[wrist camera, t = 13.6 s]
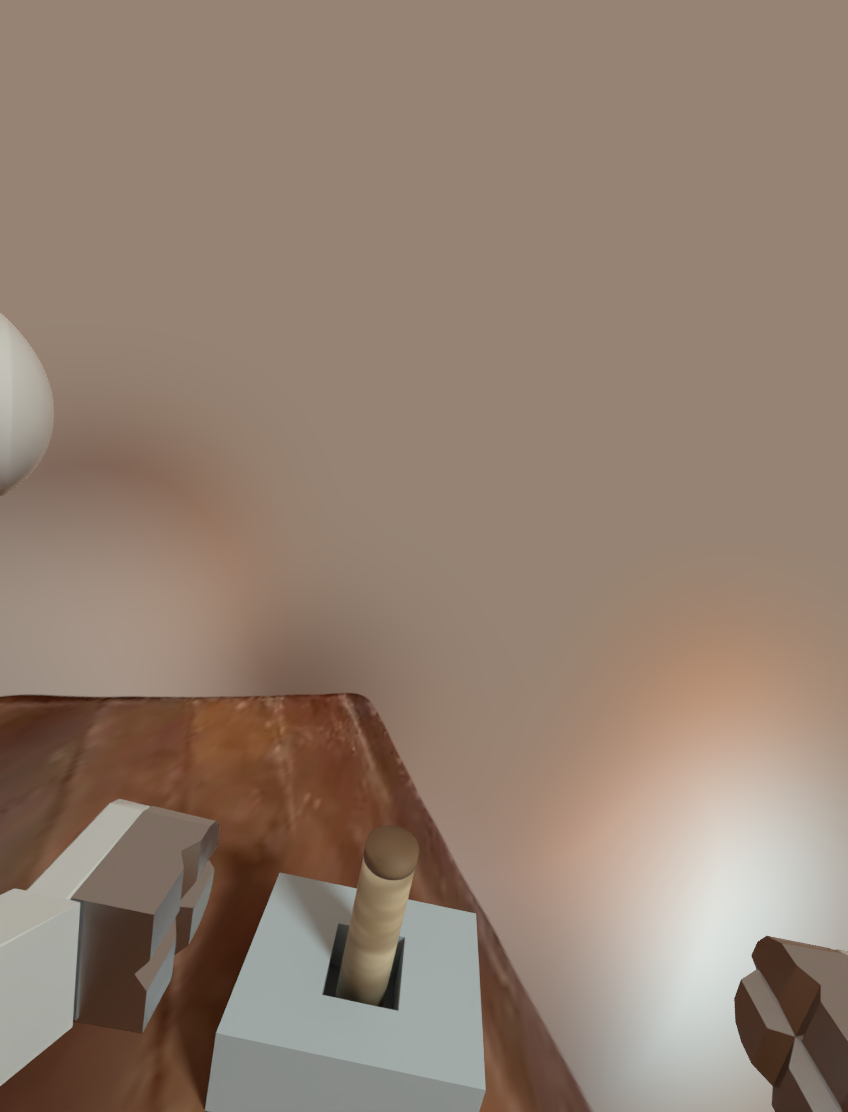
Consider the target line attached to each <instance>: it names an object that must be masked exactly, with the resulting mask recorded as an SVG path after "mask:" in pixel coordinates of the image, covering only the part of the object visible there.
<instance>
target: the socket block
mask: <svg viewBox="0 0 848 1112" xmlns="http://www.w3.org/2000/svg"><path fill="white" fill-rule="evenodd" d="M356 891H357V889H356V888H351V887H346V886H341V885H337V884H332V883H327V882H322V881H318V880H313V879H308V878H303V877H299V876H294V875H289V874H284V873H279V875H278V878H277V881H276V883H275V886H274V888H273V891H272V893H271V896H270V898H269V901H268V903H267V906H266V908H265V911H264V913H263V916H262V918H261V921H260V923H259V926H258V928H257V931H256V933H255V936H254V938H253V941H252V944H251V946H250V949H249V951H248V954H247V956H246V959H245V961H244V964H243V966H242V969H241V971H240V974H239V976H238V979H237V981H236V984H235V986H234V989H233V991H232V994H231V996H230V999H229V1001H228V1004H227V1006H226V1009H225V1012H224V1014H223V1017H222V1019H221V1022H220V1024H219V1027H218V1029H217V1032H216V1037H215V1044H214V1050H213V1057H212V1064H211V1071H210V1078H209V1085H208V1092H207V1099H206V1106H205V1111H209V1112H479V1110H480V1107H481V1104H482V1100H483V1097H484V1094H485V1091H486V1087H485V1069H484V1051H483V1033H482V1015H481V997H480V979H479V961H478V943H477V925H476V914H475V913H470V912H465V911H460V910H456V909H451V908H446V907H441V906H436V905H432V904H427V903H422V902H417V901H413V900H407V904H406V909H405V913H404V917H403V922H402V926H401V930H400V935H399V939H398V943H397V947H396V952H395V956H394V960H393V965H392V969H391V973H390V977H389V982H388V986H387V990H386V995H385V999H384V1003H383V1007H377V1006H373V1005H368V1004H363V1003H359V1002H354V1001H349V1000H344V999H340V998H335V993H336V989H337V984H338V979H339V974H340V969H341V964H342V959H343V954H344V949H345V945H346V940H347V935H348V930H349V925H350V920H351V915H352V910H353V906H354V901H355V896H356Z"/></svg>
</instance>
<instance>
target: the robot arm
mask: <svg viewBox="0 0 848 1112" xmlns="http://www.w3.org/2000/svg"><path fill="white" fill-rule="evenodd" d="M53 424H54V404H53V396H52V392H51V388H50V384H49V381H48V378H47V376H46V373H45V371H44V368H43V366H42V364H41V362H40V361H39V359H38V357H37V355H36V354H35V352H34V351H33V349H32V348H31V346H30V345H29V343H28V342H27V341H26V339H25V338H24V337H23V336H22V334H21V333H20V332H19V331H18V329H17V328H16V327H15V326H14V325H13V324H12V323H11V322H9V320H8V319H7V318H6V317H5V316H3V315H2V314H1V313H0V496H3V495H5V494H7V493H8V492H9V491H11V490H13V489H14V488H16V487H17V486H18V485H19V484H20V483H22V481H24V480H25V479H26V478H27V477H28V476H29V475H30V474H31V472H33V470H34V469H35V468H36V466H37V465H38V464H39V462H40V461H41V459H42V458H43V456H44V454H45V451H46V450H47V447H48V444H49V442H50V439H51V436H52V431H53ZM218 836H219V824H218V823H217V821H214V820H209V819H205V818H201V817H197V816H193V815H188V814H184V813H180V812H176V811H171V810H167V809H163V808H159V807H155V806H152V807H150V806H146V805H142V804H138V803H134V802H130V801H126V800H122V799H118V800H116V801H114V802H112V803H110V804H108V805H107V806H106V807H105V808H104V809H103V810H102V811H101V812H100V813H99V814H98V815H97V817H96V818H95V819H94V820H93V821H92V822H91V823H90V824H89V825H88V826H87V827H86V828H85V829H84V830H83V831H82V832H81V833H80V834H79V835H78V836H77V837H76V839H75V840H74V841H73V842H72V843H71V844H70V845H69V846H68V847H67V848H66V849H65V850H64V851H63V852H62V853H61V854H60V855H59V856H58V857H57V858H56V859H55V860H54V862H53V863H52V864H51V865H50V866H49V867H48V868H47V869H46V870H45V871H44V872H43V873H42V874H41V875H40V876H39V877H38V878H37V879H36V880H35V881H34V882H33V884H32V885H31V886H30V887H29V888H28V889H27V890H21V889H15V888H14V889H12V890H10V891H8V892H6V893H3V894H1V895H0V1086H1V1085H2V1084H3V1083H5V1082H6V1081H7V1080H8V1079H10V1078H11V1077H12V1076H13V1075H14V1074H16V1073H17V1072H18V1071H19V1070H21V1069H22V1068H23V1067H24V1066H25V1065H27V1064H28V1063H29V1062H30V1061H32V1060H33V1059H34V1058H35V1057H36V1056H38V1055H39V1054H40V1053H41V1052H43V1051H44V1050H45V1049H46V1048H47V1047H49V1046H50V1045H51V1044H52V1043H54V1042H55V1041H56V1040H57V1039H58V1038H60V1037H61V1036H62V1035H63V1034H65V1033H66V1032H67V1031H68V1030H69V1029H71V1028H72V1026H73V1022H78V1023H84V1024H90V1025H95V1026H101V1027H107V1028H113V1029H118V1030H124V1031H130V1032H136V1033H143V1031H144V1029H145V1027H146V1026H147V1024H148V1022H149V1020H150V1018H151V1016H152V1014H153V1012H154V1010H155V1008H156V1007H157V1005H158V1003H159V1001H160V999H161V997H162V995H163V993H164V991H165V989H166V988H167V986H168V984H169V982H170V980H171V978H172V970H173V962H174V955H175V954H177V953H178V952H180V951H181V950H182V949H184V948H185V947H187V946H188V945H189V944H190V942H191V940H192V938H193V936H194V934H195V932H196V930H197V928H198V926H199V923H200V921H201V918H202V915H203V913H204V910H205V908H206V905H207V902H208V899H209V895H210V891H211V887H212V883H213V876H214V868H213V866H212V864H211V863H210V861H209V858H210V857H211V855H212V853H213V851H214V850H215V848H216V846H217V844H218ZM752 958H753V961H754V964H755V966H756V969H757V970H755V971H754V972H752V973H751V974H749V975H748V976H746V977H745V978H743V979H742V980H741V982H740V985H739V987H738V990H737V993H736V996H735V998H734V999H735V1019H736V1025H737V1028H738V1032H739V1035H740V1039H741V1042H742V1044H743V1046H744V1048H745V1050H746V1053H747V1055H748V1057H749V1059H750V1061H751V1063H752V1064H753V1066H754V1067H755V1068H757V1070H758V1071H759V1072H760V1073H761V1074H762V1075H763V1076H764V1077H765V1078H766V1079H767V1080H768V1081H769V1083H770V1084H771V1085H772V1086H773V1093H772V1106H773V1108H774V1110H775V1112H848V951H842V950H833V949H830V948H825V947H820V946H815V945H810V944H805V943H800V942H795V941H790V940H785V939H780V938H775V937H770V936H766V937H764V938H763V939H761V940H760V941H758V942H757V944H756V947H755V949H754V951H753V953H752Z"/></svg>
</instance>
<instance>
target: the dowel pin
mask: <svg viewBox="0 0 848 1112" xmlns="http://www.w3.org/2000/svg"><path fill="white" fill-rule="evenodd" d="M418 855H419V846H418V843H417V841H416V839H415V838H414V836H413V835H412V834H410V833H409V832H408V831H406V830H405V829H402V828H400V827H396V826H381V827H378V828H376V829H374V830H373V831H372V832H371V833H370V834H369V835H368V837H367V840H366V845H365V850H364V857H363V862H362V867H361V871H360V876H359V881H358V886H357V891H356V896H355V901H354V906H353V910H352V915H351V920H350V925H349V930H348V935H347V940H346V945H345V949H344V954H343V959H342V964H341V969H340V974H339V979H338V984H337V989H336V993H335V998H340V999H344V1000H349V1001H354V1002H359V1003H363V1004H368V1005H373V1006H377V1007H383V1003H384V999H385V995H386V990H387V986H388V982H389V977H390V973H391V969H392V965H393V960H394V956H395V952H396V947H397V943H398V939H399V935H400V930H401V926H402V922H403V917H404V913H405V909H406V904H407V900H408V896H409V892H410V887H411V883H412V879H413V874H414V870H415V867H416V863H417V859H418Z"/></svg>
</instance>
